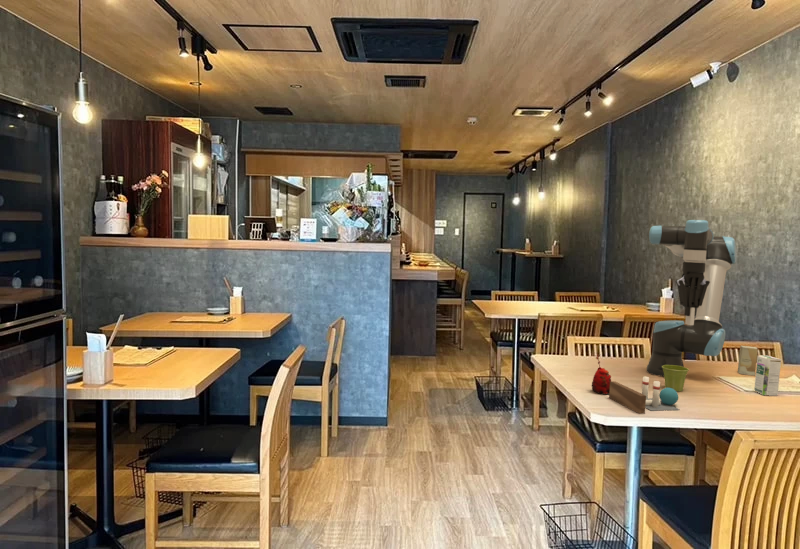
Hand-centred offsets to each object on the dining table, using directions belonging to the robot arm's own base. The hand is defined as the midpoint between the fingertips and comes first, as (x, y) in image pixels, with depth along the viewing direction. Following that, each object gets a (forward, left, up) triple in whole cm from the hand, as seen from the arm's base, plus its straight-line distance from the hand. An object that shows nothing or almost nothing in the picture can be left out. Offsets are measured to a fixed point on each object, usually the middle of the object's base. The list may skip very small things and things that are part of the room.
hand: (689, 324), depth 209 cm
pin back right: (+23, +9, -26) cm, 36 cm away
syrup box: (-34, +2, -27) cm, 43 cm away
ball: (+16, +12, -23) cm, 31 cm away
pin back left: (+23, +15, -26) cm, 38 cm away
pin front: (+20, +13, -25) cm, 35 cm away
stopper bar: (+32, +12, -26) cm, 43 cm away
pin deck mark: (+21, +12, -26) cm, 36 cm away
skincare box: (-53, -28, -27) cm, 66 cm away
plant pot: (0, -6, -27) cm, 27 cm away
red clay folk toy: (+32, -4, -27) cm, 42 cm away
